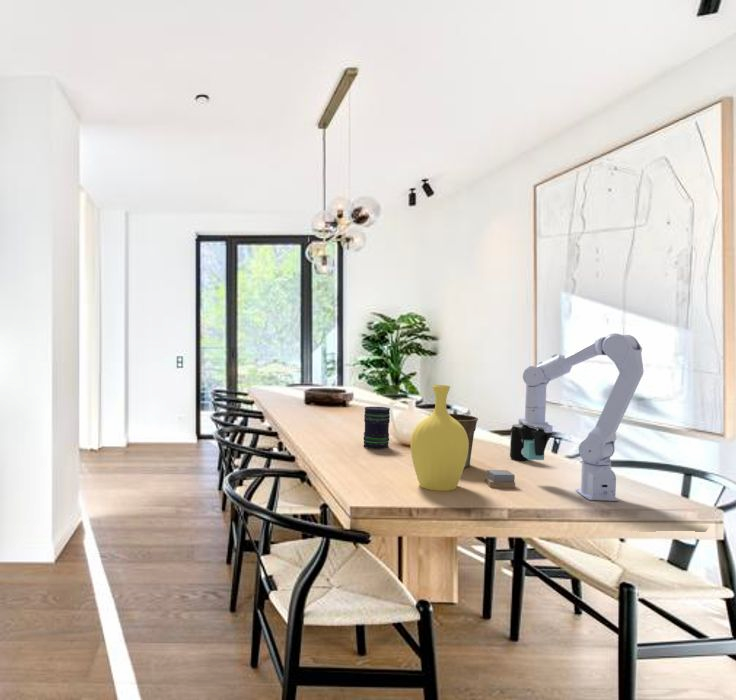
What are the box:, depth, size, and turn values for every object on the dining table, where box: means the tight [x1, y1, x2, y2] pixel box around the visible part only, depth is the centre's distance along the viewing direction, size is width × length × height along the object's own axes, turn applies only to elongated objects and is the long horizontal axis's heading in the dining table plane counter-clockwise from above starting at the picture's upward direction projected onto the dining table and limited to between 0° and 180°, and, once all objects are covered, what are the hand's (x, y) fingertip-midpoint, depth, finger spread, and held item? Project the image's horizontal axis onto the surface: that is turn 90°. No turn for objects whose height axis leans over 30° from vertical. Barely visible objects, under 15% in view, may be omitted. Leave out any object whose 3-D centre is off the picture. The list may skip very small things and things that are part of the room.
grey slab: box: [486, 469, 516, 482], centre depth 151 cm, size 6×6×2 cm
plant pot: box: [429, 413, 479, 469], centre depth 175 cm, size 16×16×16 cm
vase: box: [410, 384, 469, 492], centre depth 147 cm, size 16×16×28 cm
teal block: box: [524, 440, 545, 461], centre depth 155 cm, size 4×4×5 cm
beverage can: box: [509, 424, 529, 462], centre depth 188 cm, size 7×7×12 cm
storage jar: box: [363, 406, 391, 450], centre depth 202 cm, size 10×10×15 cm
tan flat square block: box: [484, 475, 516, 489], centre depth 151 cm, size 7×7×2 cm
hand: (533, 453), depth 155 cm, fingers closed on teal block, 5 cm apart
